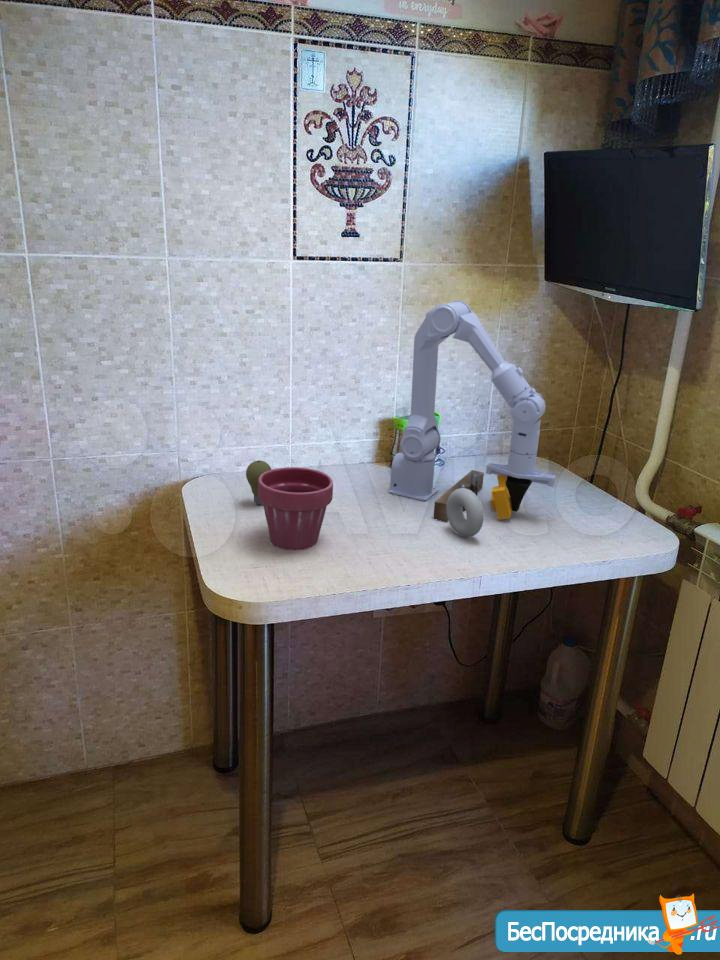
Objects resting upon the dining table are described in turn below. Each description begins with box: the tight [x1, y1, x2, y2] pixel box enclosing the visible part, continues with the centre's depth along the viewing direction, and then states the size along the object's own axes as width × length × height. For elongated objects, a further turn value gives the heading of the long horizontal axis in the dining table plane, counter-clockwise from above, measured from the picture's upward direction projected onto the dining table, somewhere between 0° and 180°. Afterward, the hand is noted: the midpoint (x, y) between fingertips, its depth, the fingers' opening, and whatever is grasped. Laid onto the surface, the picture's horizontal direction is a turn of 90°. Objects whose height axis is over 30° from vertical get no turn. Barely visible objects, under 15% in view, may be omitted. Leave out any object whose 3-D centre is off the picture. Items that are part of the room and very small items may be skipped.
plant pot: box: [258, 466, 334, 551], centre depth 137 cm, size 14×14×13 cm
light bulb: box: [245, 459, 273, 506], centre depth 153 cm, size 6×6×10 cm
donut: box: [446, 488, 485, 538], centre depth 143 cm, size 10×3×10 cm, turn 30°
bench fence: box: [433, 469, 485, 523], centre depth 160 cm, size 4×24×6 cm, turn 153°
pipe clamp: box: [490, 475, 513, 520], centre depth 157 cm, size 12×4×6 cm, turn 164°
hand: (515, 510), depth 156 cm, fingers closed
